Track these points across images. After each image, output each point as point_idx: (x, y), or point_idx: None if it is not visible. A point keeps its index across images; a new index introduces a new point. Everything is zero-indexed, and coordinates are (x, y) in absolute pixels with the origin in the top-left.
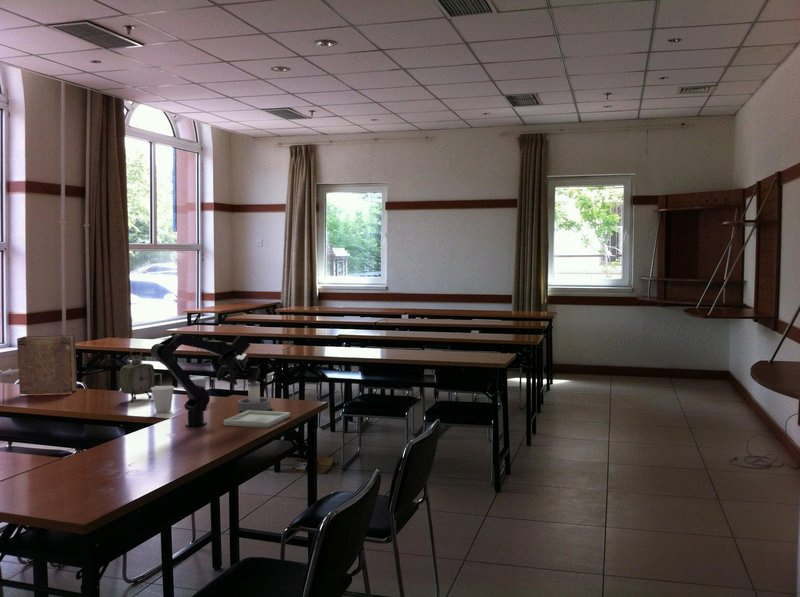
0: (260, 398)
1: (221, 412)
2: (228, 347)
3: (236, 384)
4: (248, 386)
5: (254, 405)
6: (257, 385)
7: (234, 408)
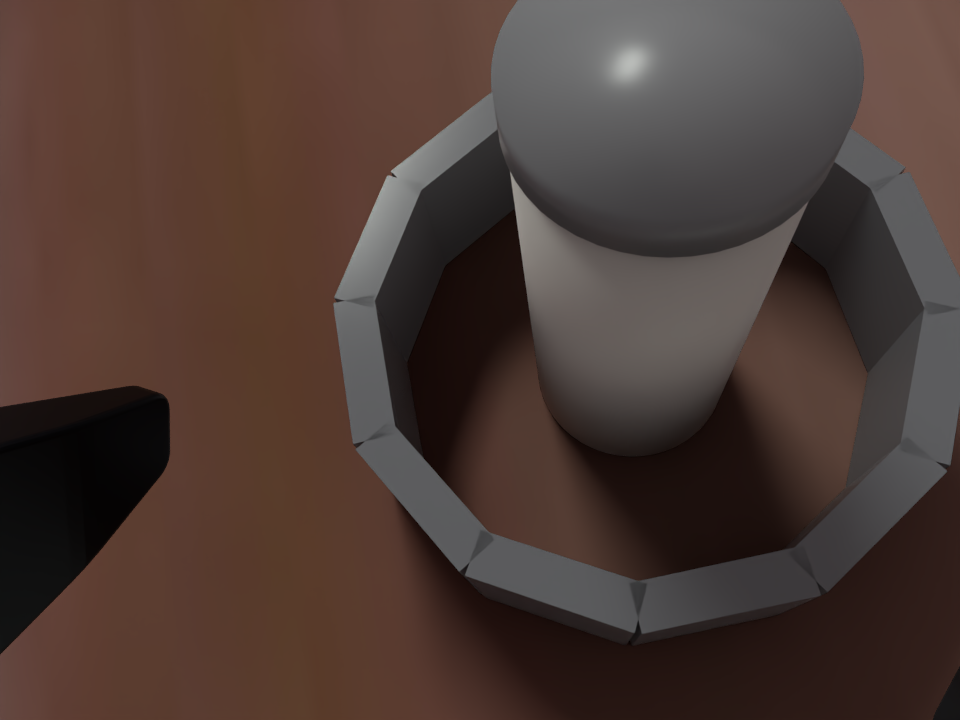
0: None
1: (124, 563)
2: None
3: (156, 468)
4: (522, 190)
5: (719, 619)
6: (812, 195)
7: (297, 285)
